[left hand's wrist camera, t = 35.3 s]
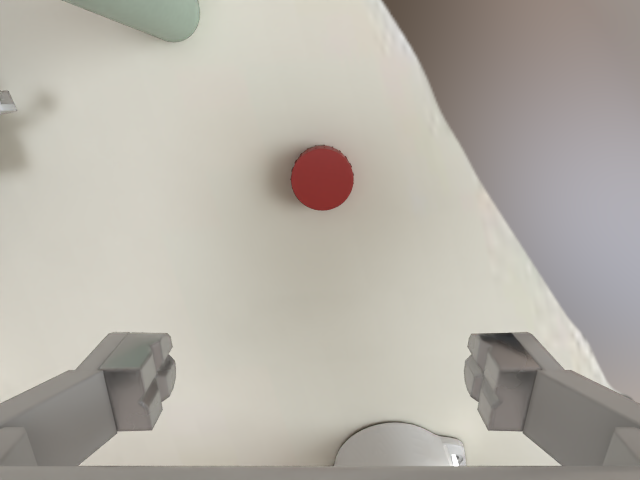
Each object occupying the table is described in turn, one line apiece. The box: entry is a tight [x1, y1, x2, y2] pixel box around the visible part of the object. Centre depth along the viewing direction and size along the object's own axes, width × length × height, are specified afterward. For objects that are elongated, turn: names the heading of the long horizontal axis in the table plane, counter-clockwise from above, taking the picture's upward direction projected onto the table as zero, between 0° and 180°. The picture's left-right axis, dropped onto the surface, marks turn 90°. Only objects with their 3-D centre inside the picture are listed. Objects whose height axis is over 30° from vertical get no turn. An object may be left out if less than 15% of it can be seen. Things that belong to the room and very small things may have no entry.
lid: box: [291, 145, 354, 210], centre depth 35 cm, size 6×6×2 cm
